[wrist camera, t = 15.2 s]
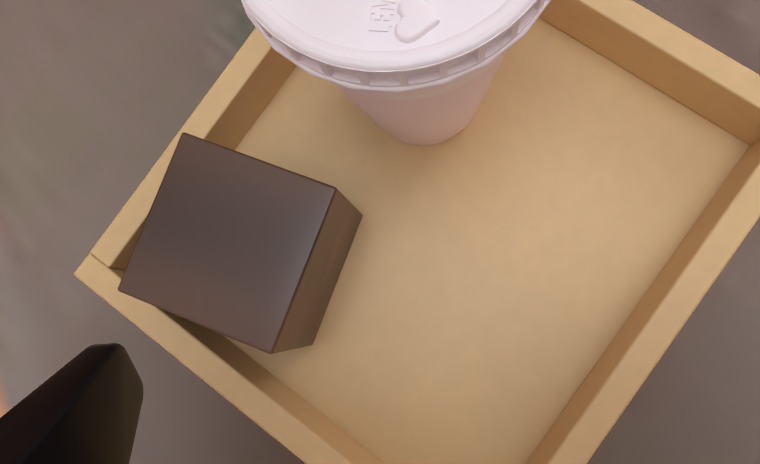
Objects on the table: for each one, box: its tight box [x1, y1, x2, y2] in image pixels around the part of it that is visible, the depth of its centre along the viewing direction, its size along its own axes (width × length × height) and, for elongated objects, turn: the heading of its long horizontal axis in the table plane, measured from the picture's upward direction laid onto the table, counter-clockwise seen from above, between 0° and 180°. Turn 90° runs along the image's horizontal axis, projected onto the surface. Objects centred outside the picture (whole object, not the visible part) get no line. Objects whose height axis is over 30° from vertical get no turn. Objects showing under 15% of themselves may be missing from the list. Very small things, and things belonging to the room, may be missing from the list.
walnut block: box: [118, 132, 363, 354], centre depth 18 cm, size 4×4×4 cm
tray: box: [74, 0, 760, 464], centre depth 19 cm, size 16×15×3 cm
